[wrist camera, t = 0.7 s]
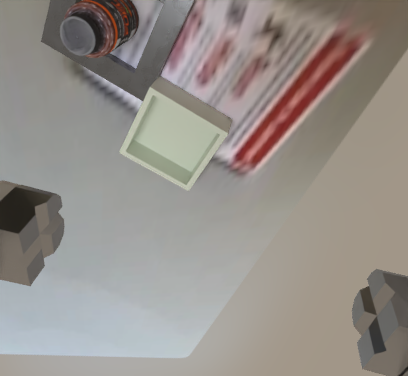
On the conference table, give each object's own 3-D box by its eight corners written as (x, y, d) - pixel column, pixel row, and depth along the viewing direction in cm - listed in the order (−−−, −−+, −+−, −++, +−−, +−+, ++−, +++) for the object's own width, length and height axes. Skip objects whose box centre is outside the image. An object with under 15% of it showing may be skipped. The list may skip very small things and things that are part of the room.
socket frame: (77, -89, 40) (71, -90, 39) (199, -9, 43) (197, -7, 41) (47, 38, 49) (41, 41, 48) (148, 98, 52) (145, 102, 51)
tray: (159, 75, 50) (149, 86, 46) (232, 119, 52) (228, 133, 48) (129, 138, 57) (119, 152, 53) (194, 175, 59) (188, 191, 55)
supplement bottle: (148, 27, 46) (115, 51, 37) (114, 48, 49) (75, 76, 40) (121, -19, 44) (79, -6, 35) (86, 6, 46) (38, 24, 37)
